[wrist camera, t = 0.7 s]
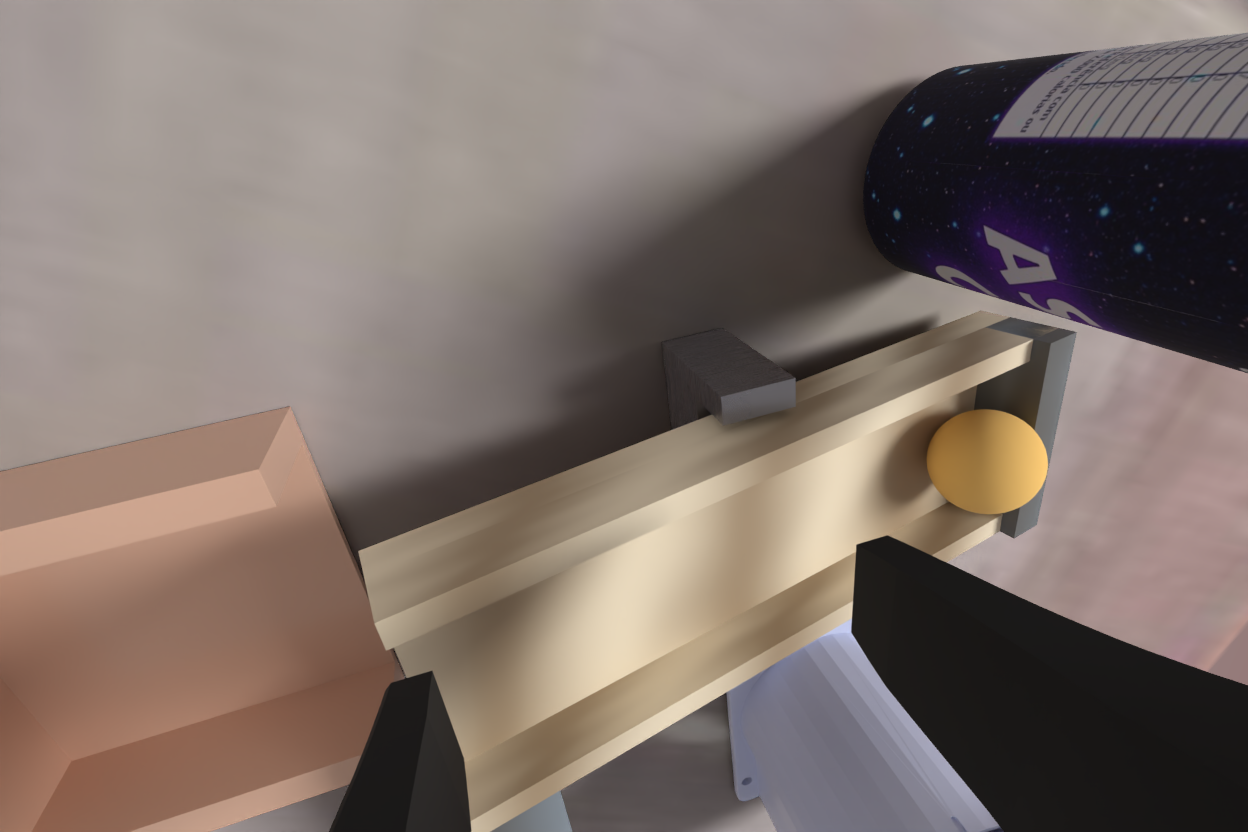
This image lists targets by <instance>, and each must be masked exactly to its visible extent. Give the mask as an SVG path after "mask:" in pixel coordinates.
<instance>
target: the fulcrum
mask: <svg viewBox="0 0 1248 832" xmlns="http://www.w3.org/2000/svg"><path fill="white" fill-rule="evenodd" d="M662 349H663V358H664V366H665V375H666V384H667V393H668V402H669V410H670V419H671V428H672V430H673V429H676V428H678V427H681V426H683V425H686V424H689V423H691V422H694V421H696V420H699V419H702V418H704V417H707V416H709V415H713V416H714V417H715V418H716V419H717V420H718V421H719V422H720V423H721V424H722V425H723V426H724V425H728V424H732V423H736V422H740V421H743V420H747V419H751V418H755V417H759V416H762V415H766V414H770V413H774V412H778V411H781V410H785V409H789V408H793V407H796V378H795V377H793V376H792V375H790V374H789V373H788V372H786V371H785V370H783V369H782V368H780V367H779V366H777V365H776V364H774V363H773V362H771V361H770V360H769V359H767V358H766V357H764V356H763V355H761V354H760V353H758V352H757V351H755V350H754V349H752V348H751V347H750V346H748V345H747V344H745V343H744V342H742V341H741V340H739V339H738V338H736V337H735V336H733V335H732V334H731V333H729V332H728V331H726V330H725V329H723V328H720V329H716V330H712V331H707V332H703V333H699V334H694V335H690V336H686V337H682V338H677V339H673V340H669V341H664V342H662Z"/></svg>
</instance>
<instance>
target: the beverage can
mask: <svg viewBox="0 0 1248 832" xmlns="http://www.w3.org/2000/svg"><path fill="white" fill-rule="evenodd" d="M863 204H864V214H865V220H866V224H867V227H868V231H869V233H870V236H871V238H872V240H873V242H874V244H875V246H876V247H877V249H878V250H879V251H880V253H881V254H882V255H883V256H884V257H885V258H886V259H887V260H888V261H889V262H891V263H892V264H894V265H895V266H897V267H899V268H901V269H903V270H906V271H909V272H913V273H916V274H919V275H923V276H926V277H929V278H933V279H936V280H939V281H943V282H946V283H949V284H953V285H956V286H959V287H962V288H966V289H969V290H972V291H976V292H979V293H982V294H986V295H989V296H992V297H996V298H999V299H1002V300H1006V301H1009V302H1012V303H1016V304H1019V305H1022V306H1026V307H1029V308H1032V309H1036V310H1039V311H1042V312H1046V313H1049V314H1052V315H1056V316H1059V317H1062V318H1066V319H1069V320H1072V321H1076V322H1079V323H1082V324H1086V325H1089V326H1092V327H1096V328H1099V329H1102V330H1106V331H1109V332H1112V333H1116V334H1119V335H1122V336H1126V337H1129V338H1132V339H1136V340H1139V341H1142V342H1146V343H1149V344H1152V345H1156V346H1159V347H1162V348H1166V349H1169V350H1172V351H1176V352H1179V353H1182V354H1186V355H1189V356H1192V357H1196V358H1199V359H1202V360H1206V361H1209V362H1212V363H1216V364H1219V365H1222V366H1226V367H1229V368H1232V369H1236V370H1239V371H1242V372H1246V373H1248V33H1242V34H1233V35H1224V36H1216V37H1207V38H1198V39H1190V40H1181V41H1172V42H1164V43H1155V44H1147V45H1138V46H1129V47H1121V48H1112V49H1103V50H1095V51H1086V52H1077V53H1069V54H1060V55H1051V56H1043V57H1034V58H1026V59H1017V60H1008V61H1000V62H991V63H982V64H974V65H965V66H958V67H953V68H950V69H946V70H944V71H941V72H939V73H937V74H935V75H933V76H931V77H929V78H928V79H926V80H924V81H923V82H922V83H920V84H919V85H918V86H916V87H915V88H914V89H913V90H912V91H911V92H910V93H908V94H907V95H906V96H905V97H904V99H903V100H902V101H901V102H900V103H899V104H898V105H897V107H896V108H895V109H894V110H893V112H892V113H891V115H890V116H889V117H888V119H887V121H886V122H885V124H884V125H883V127H882V129H881V131H880V133H879V135H878V137H877V139H876V141H875V144H874V146H873V149H872V152H871V155H870V158H869V161H868V165H867V169H866V174H865V180H864V190H863Z"/></svg>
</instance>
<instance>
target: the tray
mask: <svg viewBox="0 0 1248 832" xmlns="http://www.w3.org/2000/svg"><path fill="white" fill-rule="evenodd" d="M402 679H404V674H403V672H402V669H401V667H400V665H399V662H398V660H397V658H396V655H395V653H394V650H393V648H391V649H389V650H387V651H386V649H385V647H384V645H383V642H382V640H381V638H380V635H379V633H378V631H377V628H376V626H375V624H374V620H373V615H372V611H371V606H370V602H369V597H368V593H367V588H366V584H365V582H364V580H363V577H362V575H361V572H360V570H359V568H358V565H357V563H356V561H355V558H354V556H353V554H352V551H351V549H350V546H349V544H348V542H347V539H346V537H345V535H344V532H343V530H342V528H341V525H340V523H339V520H338V518H337V516H336V513H335V511H334V509H333V506H332V504H331V502H330V499H329V497H328V494H327V492H326V490H325V487H324V485H323V483H322V480H321V478H320V476H319V473H318V471H317V469H316V466H315V464H314V461H313V459H312V457H311V454H310V452H309V450H308V447H307V445H306V443H305V440H304V438H303V435H302V433H301V431H300V428H299V426H298V424H297V421H296V419H295V417H294V414H293V412H292V409H291V407H285V408H281V409H277V410H272V411H268V412H263V413H259V414H254V415H250V416H245V417H241V418H237V419H232V420H228V421H223V422H219V423H214V424H210V425H205V426H201V427H197V428H192V429H188V430H183V431H179V432H174V433H170V434H165V435H161V436H157V437H152V438H148V439H143V440H139V441H134V442H130V443H125V444H121V445H117V446H112V447H108V448H103V449H99V450H94V451H90V452H85V453H81V454H77V455H72V456H68V457H63V458H59V459H54V460H50V461H45V462H41V463H37V464H32V465H28V466H23V467H19V468H14V469H10V470H5V471H1V472H0V832H210V831H213V830H216V829H219V828H222V827H225V826H228V825H231V824H234V823H237V822H240V821H243V820H246V819H249V818H252V817H255V816H258V815H261V814H264V813H267V812H269V811H272V810H275V809H278V808H281V807H284V806H287V805H290V804H293V803H296V802H299V801H302V800H305V799H308V798H311V797H314V796H317V795H320V794H323V793H326V792H329V791H331V790H334V789H337V788H340V787H343V786H346V785H349V784H350V782H351V780H352V778H353V775H354V773H355V770H356V768H357V765H358V763H359V760H360V758H361V755H362V753H363V750H364V748H365V745H366V742H367V740H368V737H369V735H370V732H371V729H372V727H373V724H374V721H375V718H376V716H377V713H378V710H379V707H380V704H381V701H382V699H383V696H384V693H385V690H386V689H387V687H388V686H389V685H390V683H392V682H395V681H399V680H402Z"/></svg>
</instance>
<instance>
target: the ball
mask: <svg viewBox="0 0 1248 832" xmlns="http://www.w3.org/2000/svg"><path fill="white" fill-rule="evenodd" d="M927 469H928V473H929V476H930V478H931V480H932V482H933V484H934V486H935V487H936V489H937V490H938V491H939V493H940V494H941V495H942V496H943V497H944V498H946V499H947V500H948V501H949V502H951V503H952V504H954V505H956V506H957V507H959V508H962V509H964V510H967V511H970V512H974V513H979V514H1000V513H1005V512H1009V511H1012V510H1015V509H1017V508H1019V507H1021V506H1023V505H1024V504H1026V503H1027V502H1029V501H1030V500H1031V499H1032V498H1033V497H1034V496H1035V495H1036V494H1037V493H1038V491H1039V490H1040V489H1041V487H1042V485H1043V483H1044V481H1045V478H1046V475H1047V469H1048V458H1047V453H1046V449H1045V447H1044V444H1043V442H1042V440H1041V439H1040V437H1039V435H1038V434H1037V433H1036V432H1035V431H1034V429H1033V428H1032V427H1031V426H1029V425H1028V424H1027V423H1026V422H1024V421H1023V420H1021V419H1020V418H1018V417H1016V416H1014V415H1012V414H1009V413H1006V412H1002V411H997V410H989V409H980V410H973V411H968V412H964V413H961V414H959V415H957V416H955V417H953V418H951V419H950V420H948V421H947V422H945V423H944V424H943V425H942V426H941V427H940V428H939V429H938V430H937V432H936V433H935V434H934V436H933V437H932V439H931V441H930V444H929V447H928V451H927Z"/></svg>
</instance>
